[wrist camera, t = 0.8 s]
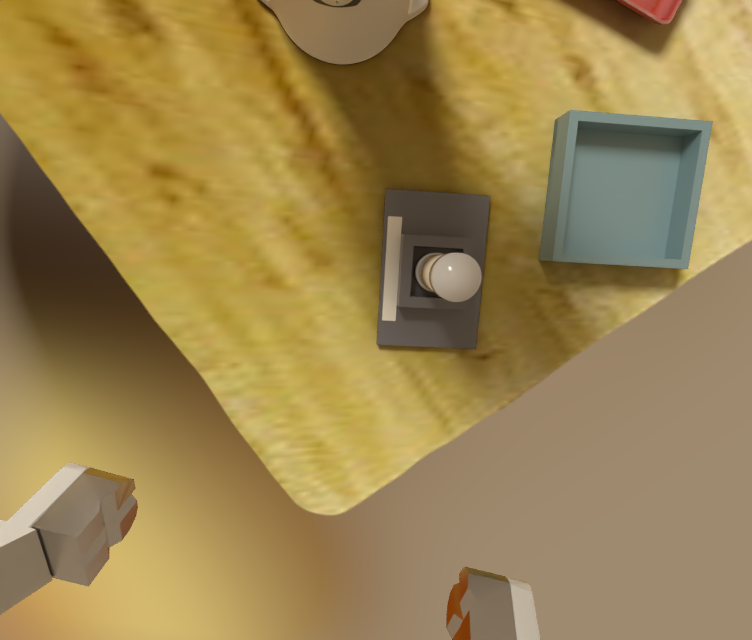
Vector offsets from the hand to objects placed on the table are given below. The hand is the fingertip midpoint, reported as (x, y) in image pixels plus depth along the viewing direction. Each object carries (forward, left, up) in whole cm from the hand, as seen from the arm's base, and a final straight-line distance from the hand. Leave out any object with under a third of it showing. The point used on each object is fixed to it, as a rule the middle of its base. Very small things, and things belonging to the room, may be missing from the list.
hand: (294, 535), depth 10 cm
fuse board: (-5, +11, -41) cm, 43 cm away
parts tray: (-15, +32, -41) cm, 54 cm away
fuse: (-5, +11, -40) cm, 42 cm away
